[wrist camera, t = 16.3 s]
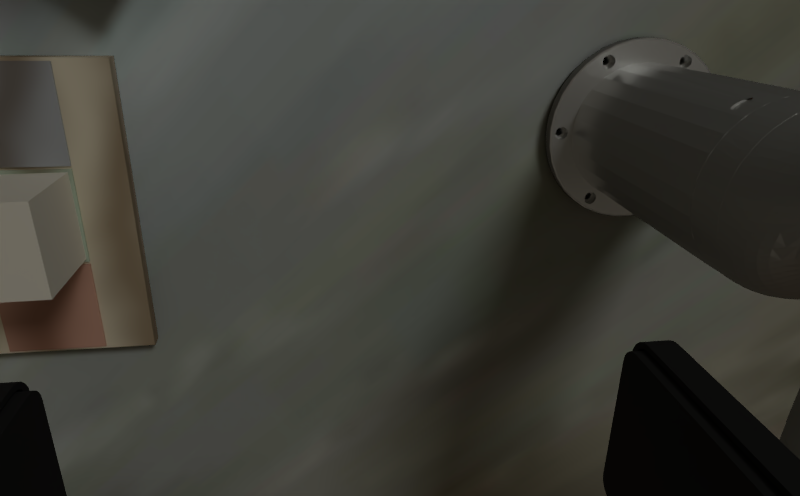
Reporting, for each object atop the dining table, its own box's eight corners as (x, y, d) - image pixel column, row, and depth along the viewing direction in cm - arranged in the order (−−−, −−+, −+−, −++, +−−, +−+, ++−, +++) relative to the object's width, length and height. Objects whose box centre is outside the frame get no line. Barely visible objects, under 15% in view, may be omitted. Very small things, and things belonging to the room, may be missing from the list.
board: (113, 55, 38) (107, 57, 37) (158, 337, 45) (154, 345, 44) (-119, 55, 36) (-132, 57, 35) (-32, 348, 44) (-41, 357, 43)
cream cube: (67, 172, 39) (28, 201, 33) (86, 258, 41) (52, 299, 36) (-35, 175, 38) (-93, 206, 33) (-10, 263, 40) (-60, 306, 35)
